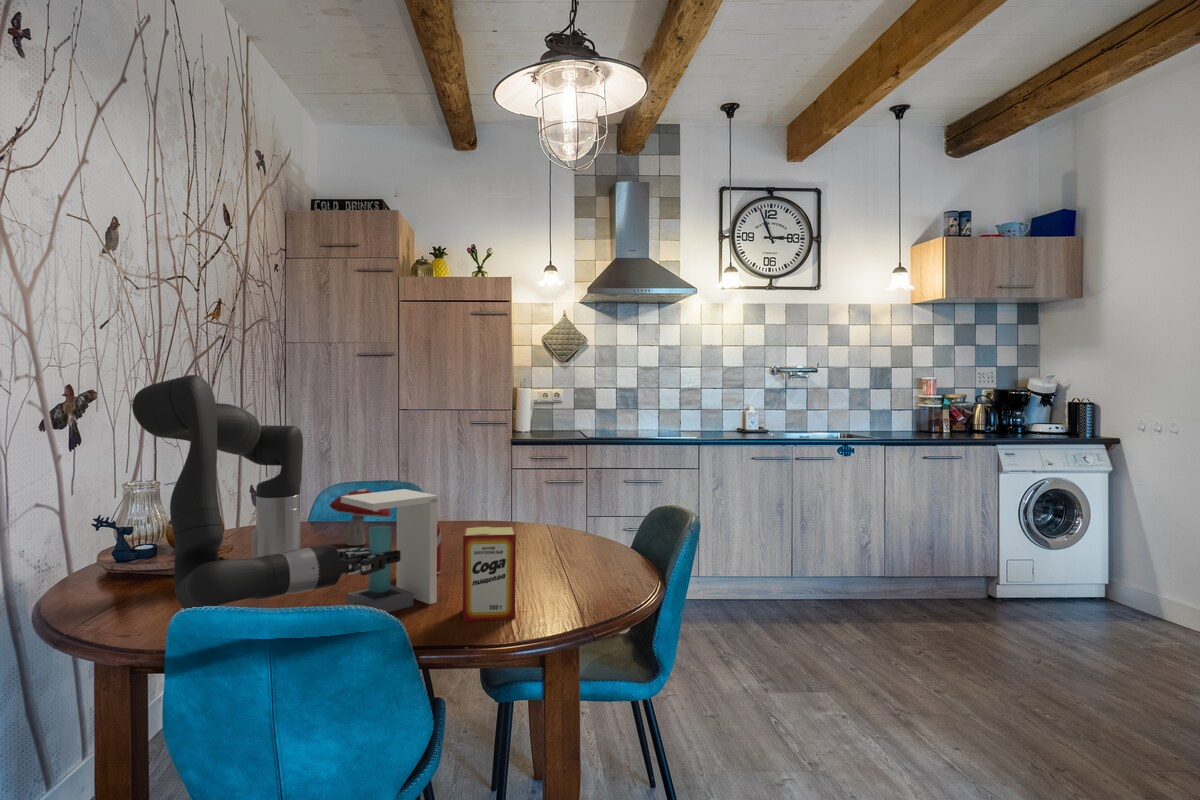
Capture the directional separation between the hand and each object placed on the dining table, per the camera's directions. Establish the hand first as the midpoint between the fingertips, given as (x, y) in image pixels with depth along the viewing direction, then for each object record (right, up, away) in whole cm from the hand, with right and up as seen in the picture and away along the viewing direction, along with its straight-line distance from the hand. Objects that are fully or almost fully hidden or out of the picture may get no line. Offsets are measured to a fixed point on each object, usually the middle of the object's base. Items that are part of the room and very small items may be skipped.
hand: (392, 553), depth 136 cm
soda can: (+1, -10, +21) cm, 23 cm away
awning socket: (-1, -10, 0) cm, 10 cm away
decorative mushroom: (-23, -9, +49) cm, 55 cm away
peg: (-2, -6, -2) cm, 7 cm away
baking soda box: (+20, -10, -6) cm, 23 cm away
